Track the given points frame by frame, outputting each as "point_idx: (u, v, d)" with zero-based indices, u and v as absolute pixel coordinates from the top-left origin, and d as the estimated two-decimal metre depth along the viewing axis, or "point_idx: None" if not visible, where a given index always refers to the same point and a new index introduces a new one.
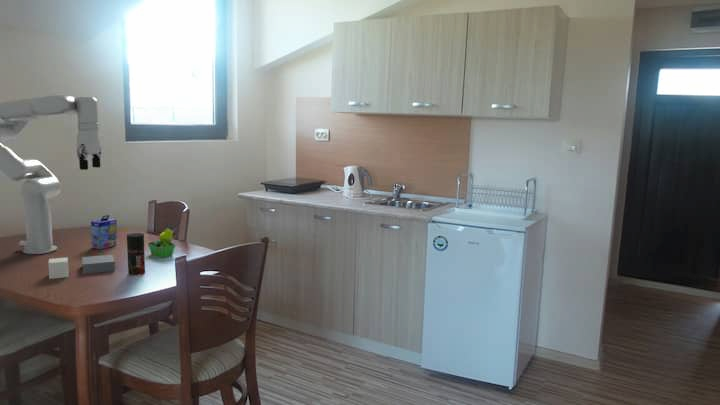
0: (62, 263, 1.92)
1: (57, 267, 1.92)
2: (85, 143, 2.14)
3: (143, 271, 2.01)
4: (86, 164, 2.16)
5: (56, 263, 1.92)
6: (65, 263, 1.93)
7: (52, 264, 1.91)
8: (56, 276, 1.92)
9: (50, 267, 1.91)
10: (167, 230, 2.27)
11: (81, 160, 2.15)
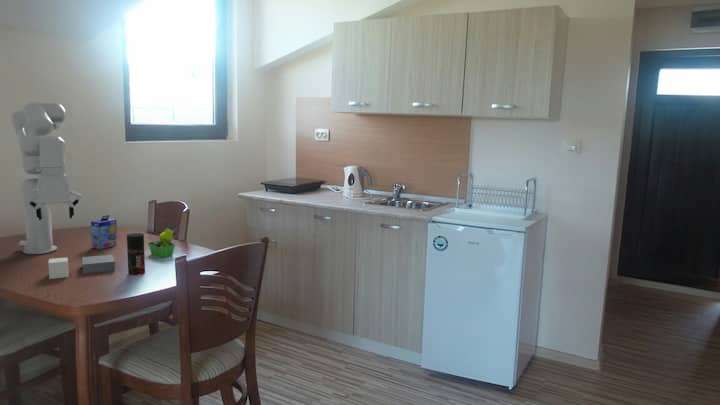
0: (62, 263, 1.92)
1: (57, 267, 1.92)
2: None
3: (143, 271, 2.01)
4: None
5: (56, 263, 1.92)
6: (65, 263, 1.93)
7: (52, 264, 1.91)
8: (56, 276, 1.92)
9: (50, 267, 1.91)
10: (167, 230, 2.27)
11: (73, 207, 1.94)
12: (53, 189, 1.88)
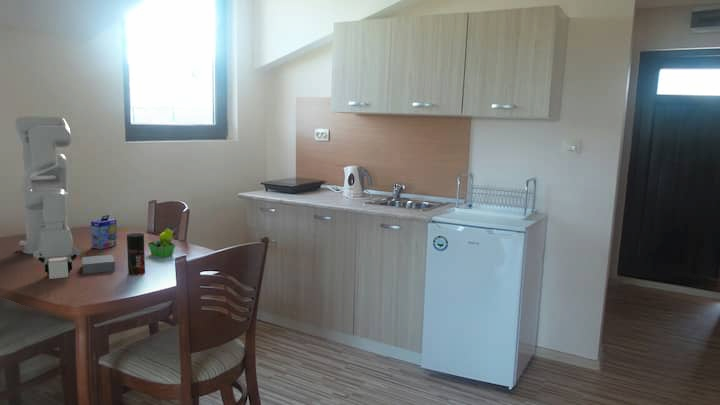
0: (62, 263, 1.92)
1: (57, 266, 1.92)
2: None
3: (143, 271, 2.01)
4: None
5: (56, 263, 1.92)
6: (65, 263, 1.93)
7: (52, 264, 1.91)
8: (56, 276, 1.92)
9: (50, 267, 1.91)
10: (167, 230, 2.27)
11: (71, 262, 1.96)
12: (56, 243, 1.91)
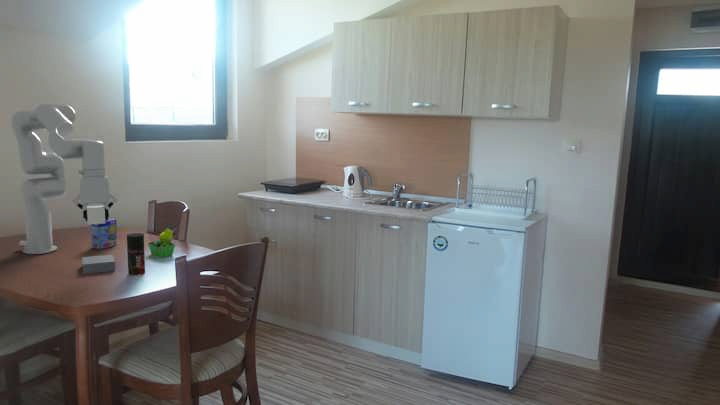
0: (100, 209, 2.00)
1: (95, 213, 2.00)
2: None
3: (143, 271, 2.01)
4: None
5: (94, 209, 1.99)
6: (102, 209, 2.01)
7: (90, 210, 1.99)
8: (94, 222, 2.00)
9: (88, 213, 1.98)
10: (167, 230, 2.27)
11: None
12: (94, 190, 1.98)
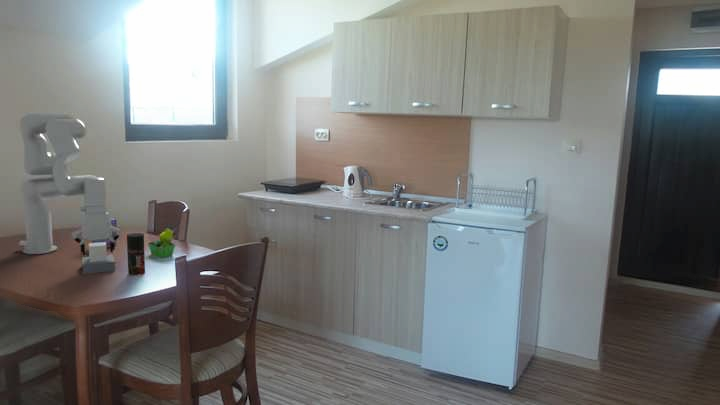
0: (101, 247, 2.02)
1: (97, 250, 2.02)
2: None
3: (143, 271, 2.01)
4: None
5: (96, 247, 2.02)
6: (104, 247, 2.03)
7: (92, 248, 2.01)
8: (96, 259, 2.02)
9: (90, 251, 2.01)
10: (167, 230, 2.27)
11: None
12: (96, 226, 2.01)
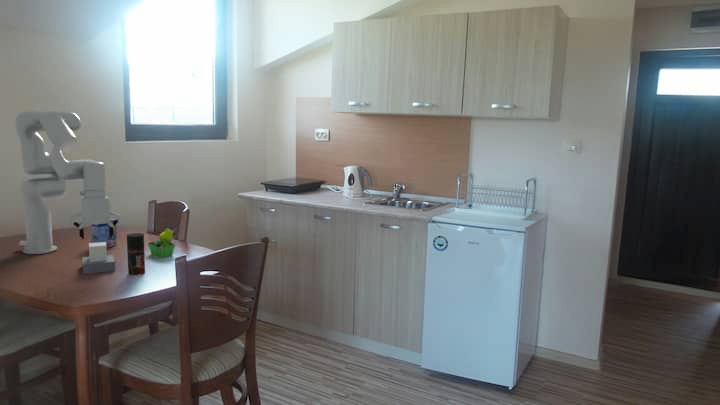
0: (101, 247, 2.03)
1: (97, 250, 2.02)
2: None
3: (143, 271, 2.01)
4: None
5: (96, 247, 2.02)
6: (104, 247, 2.03)
7: (92, 248, 2.01)
8: (96, 259, 2.02)
9: (90, 250, 2.01)
10: (167, 230, 2.27)
11: None
12: (95, 211, 2.00)
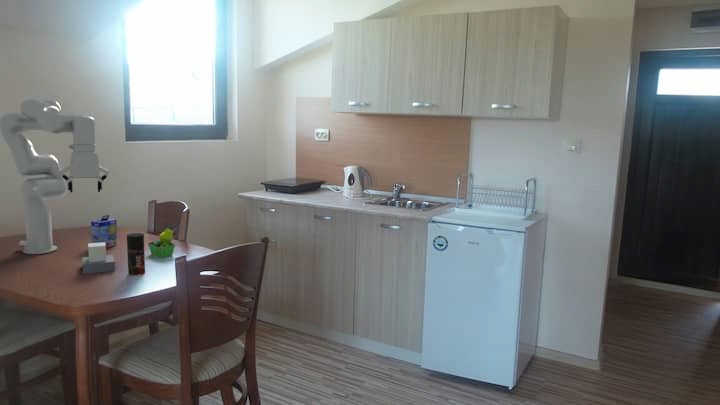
0: (101, 247, 2.02)
1: (96, 251, 2.02)
2: None
3: (143, 271, 2.01)
4: None
5: (95, 247, 2.01)
6: (103, 247, 2.03)
7: (91, 248, 2.01)
8: (95, 259, 2.02)
9: (90, 251, 2.01)
10: (167, 230, 2.27)
11: (101, 182, 2.09)
12: (84, 164, 2.03)
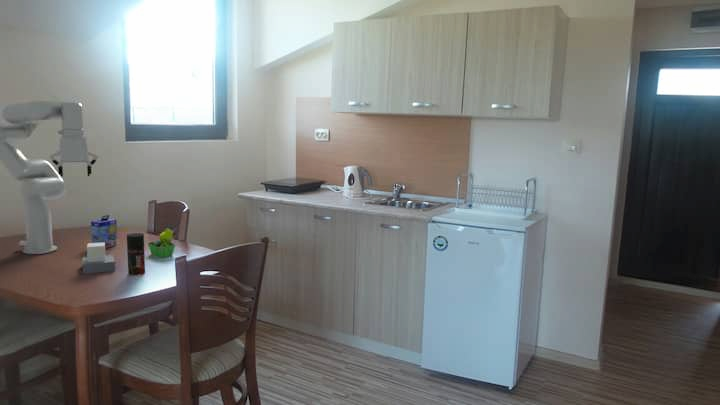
0: (99, 247, 2.02)
1: (95, 251, 2.02)
2: None
3: (143, 271, 2.01)
4: None
5: (94, 247, 2.01)
6: (102, 247, 2.02)
7: (90, 248, 2.01)
8: (94, 259, 2.02)
9: (88, 251, 2.01)
10: (167, 230, 2.27)
11: None
12: (73, 149, 2.10)
